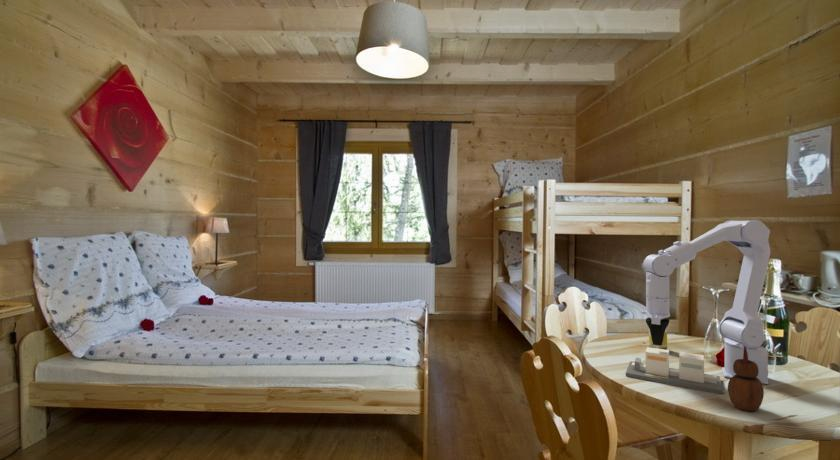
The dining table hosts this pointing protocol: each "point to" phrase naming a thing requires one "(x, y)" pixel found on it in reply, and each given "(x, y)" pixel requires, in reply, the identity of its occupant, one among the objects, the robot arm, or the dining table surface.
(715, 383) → the rail
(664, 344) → the supplement bottle
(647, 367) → the block
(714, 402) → the dining table surface
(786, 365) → the dining table surface
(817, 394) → the dining table surface
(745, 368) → the wooden figurine
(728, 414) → the dining table surface
